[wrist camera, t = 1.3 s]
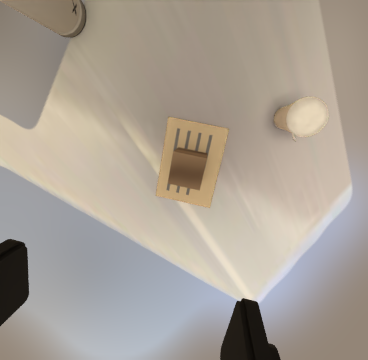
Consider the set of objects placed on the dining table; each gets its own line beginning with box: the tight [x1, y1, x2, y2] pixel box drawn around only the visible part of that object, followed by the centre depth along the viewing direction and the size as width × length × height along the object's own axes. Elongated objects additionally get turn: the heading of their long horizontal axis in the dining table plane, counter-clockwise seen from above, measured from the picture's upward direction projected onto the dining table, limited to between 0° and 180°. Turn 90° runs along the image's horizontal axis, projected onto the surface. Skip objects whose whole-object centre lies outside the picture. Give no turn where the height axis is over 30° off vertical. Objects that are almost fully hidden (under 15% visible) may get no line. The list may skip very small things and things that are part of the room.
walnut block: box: [168, 147, 208, 191], centre depth 33 cm, size 5×5×5 cm
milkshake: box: [274, 97, 329, 141], centre depth 28 cm, size 4×5×10 cm
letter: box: [156, 117, 229, 208], centre depth 36 cm, size 14×10×1 cm
